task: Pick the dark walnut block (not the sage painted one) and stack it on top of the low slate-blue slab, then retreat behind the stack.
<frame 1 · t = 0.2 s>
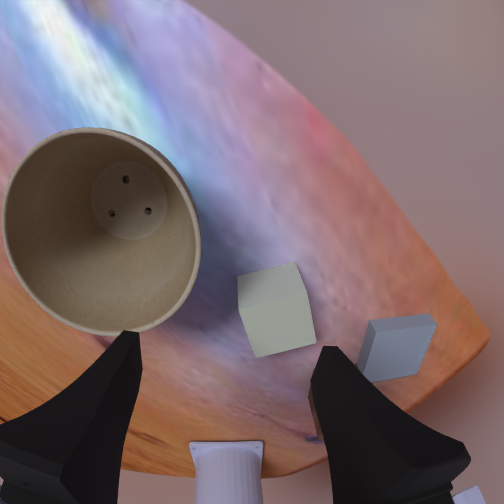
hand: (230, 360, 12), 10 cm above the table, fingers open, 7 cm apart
flower pot: (132, 197, 19), on the table
slate slab: (390, 341, 26), on the table
sage block: (272, 292, 23), on the table
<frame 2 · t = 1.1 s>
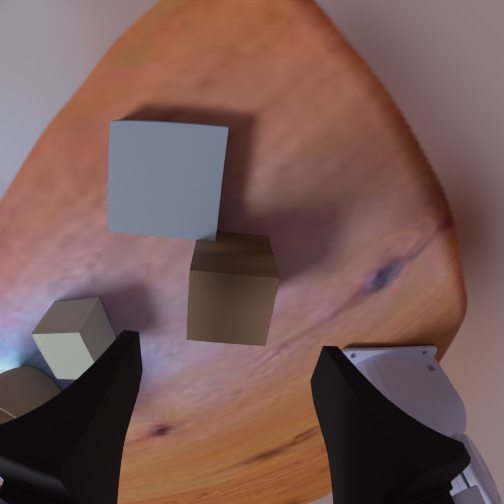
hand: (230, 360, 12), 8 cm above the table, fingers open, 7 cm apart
flower pot: (39, 382, 24), on the table
slate slab: (169, 173, 18), on the table
walnut block: (229, 263, 20), on the table
sage block: (85, 321, 21), on the table
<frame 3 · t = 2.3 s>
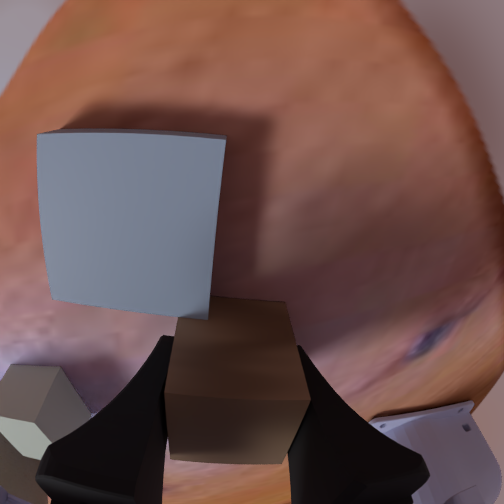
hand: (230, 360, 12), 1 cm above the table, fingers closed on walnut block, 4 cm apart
flower pot: (13, 436, 18), on the table
slate slab: (136, 210, 11), on the table
walnut block: (229, 337, 13), on the table, touching gripper
sage block: (50, 389, 15), on the table
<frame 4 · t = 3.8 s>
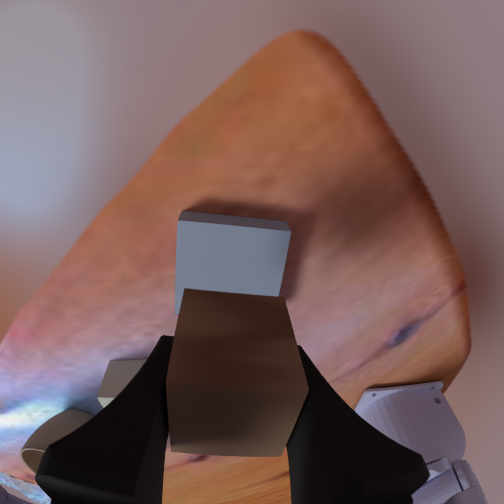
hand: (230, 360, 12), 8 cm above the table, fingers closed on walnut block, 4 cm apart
flower pot: (85, 421, 26), on the table
slate slab: (229, 260, 20), on the table
walnut block: (229, 332, 14), point 7 cm above the table, touching gripper
sage block: (140, 376, 24), on the table
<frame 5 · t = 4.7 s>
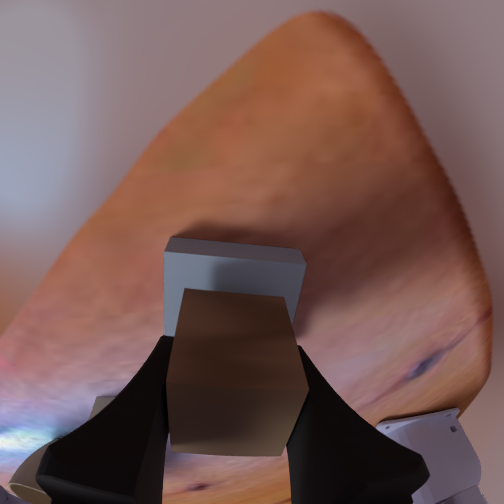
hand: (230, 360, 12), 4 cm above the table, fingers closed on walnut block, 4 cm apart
flower pot: (75, 450, 23), on the table
slate slab: (229, 293, 16), on the table
walnut block: (229, 331, 14), point 3 cm above the table, touching gripper
when the fingers open (4 cm above the table, at t = 5.2 s): walnut block drops 1 cm, point 1 cm above the table.
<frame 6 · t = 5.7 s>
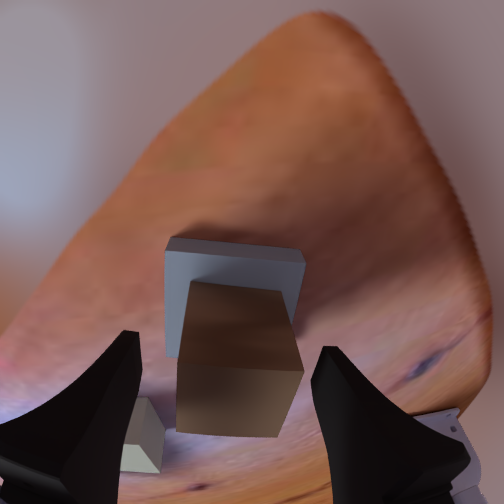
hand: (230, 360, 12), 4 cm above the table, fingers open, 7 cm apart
slate slab: (229, 292, 17), on the table
walnut block: (230, 322, 15), point 1 cm above the table
sage block: (131, 413, 20), on the table
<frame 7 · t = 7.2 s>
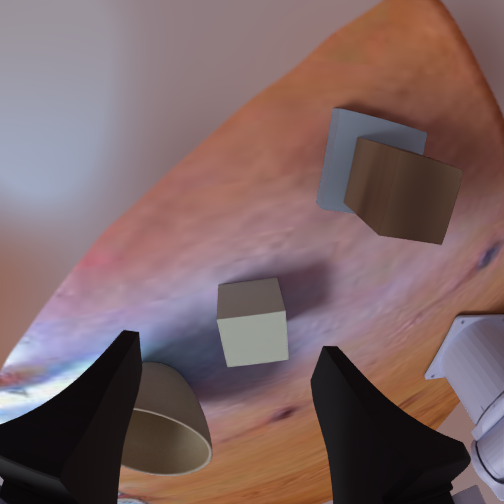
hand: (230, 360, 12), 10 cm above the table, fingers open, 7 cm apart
flower pot: (157, 379, 26), on the table
slate slab: (365, 162, 20), on the table, touching walnut block
walnut block: (380, 176, 18), point 1 cm above the table, touching slate slab
sage block: (250, 304, 23), on the table
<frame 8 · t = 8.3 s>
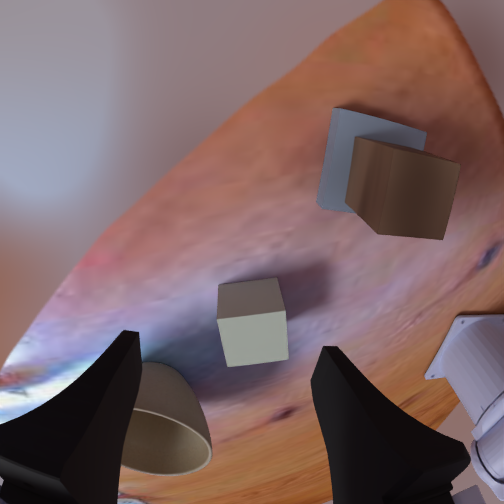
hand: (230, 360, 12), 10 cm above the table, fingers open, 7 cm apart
flower pot: (157, 379, 26), on the table
slate slab: (365, 162, 20), on the table, touching walnut block
walnut block: (380, 174, 18), point 1 cm above the table, touching slate slab
sage block: (250, 304, 23), on the table
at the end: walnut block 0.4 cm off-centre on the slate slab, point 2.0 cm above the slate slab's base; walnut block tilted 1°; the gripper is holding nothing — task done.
